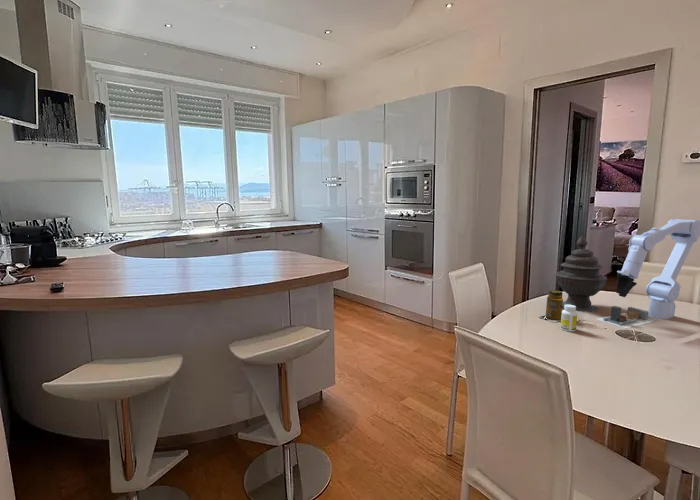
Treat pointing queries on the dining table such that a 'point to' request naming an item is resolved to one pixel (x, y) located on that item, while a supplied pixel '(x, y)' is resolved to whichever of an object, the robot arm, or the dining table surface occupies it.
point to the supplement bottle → (569, 318)
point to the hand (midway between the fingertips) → (620, 295)
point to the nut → (632, 314)
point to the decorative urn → (581, 278)
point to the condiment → (554, 306)
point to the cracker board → (630, 323)
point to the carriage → (617, 315)
